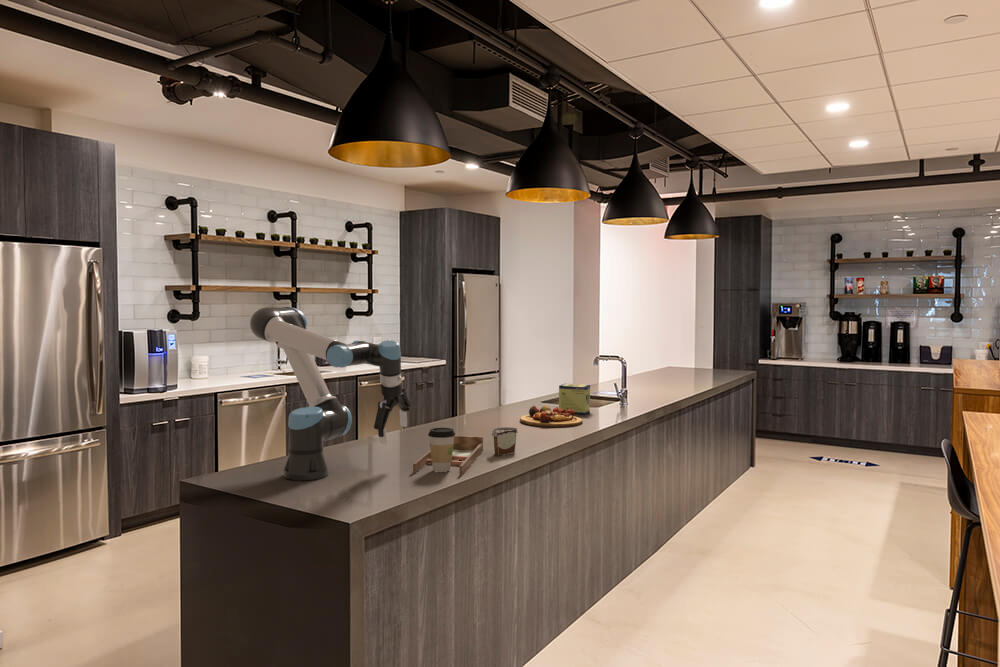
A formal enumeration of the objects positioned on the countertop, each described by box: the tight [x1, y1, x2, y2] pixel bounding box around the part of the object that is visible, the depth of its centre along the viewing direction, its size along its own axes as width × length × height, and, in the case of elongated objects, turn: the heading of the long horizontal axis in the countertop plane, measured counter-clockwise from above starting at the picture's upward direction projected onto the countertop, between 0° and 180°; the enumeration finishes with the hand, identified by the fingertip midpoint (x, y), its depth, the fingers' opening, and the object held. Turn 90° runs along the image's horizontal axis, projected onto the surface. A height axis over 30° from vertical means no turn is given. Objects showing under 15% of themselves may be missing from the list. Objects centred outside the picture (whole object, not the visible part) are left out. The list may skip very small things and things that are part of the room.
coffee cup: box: [427, 427, 456, 473], centre depth 248 cm, size 10×10×15 cm
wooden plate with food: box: [519, 404, 583, 428], centre depth 349 cm, size 32×32×8 cm
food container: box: [491, 426, 518, 457], centre depth 277 cm, size 12×6×10 cm, turn 134°
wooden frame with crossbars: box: [412, 435, 484, 477], centre depth 262 cm, size 18×40×6 cm, turn 171°
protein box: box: [558, 383, 591, 416], centre depth 378 cm, size 10×16×16 cm
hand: (393, 434), depth 251 cm, fingers open, 13 cm apart
